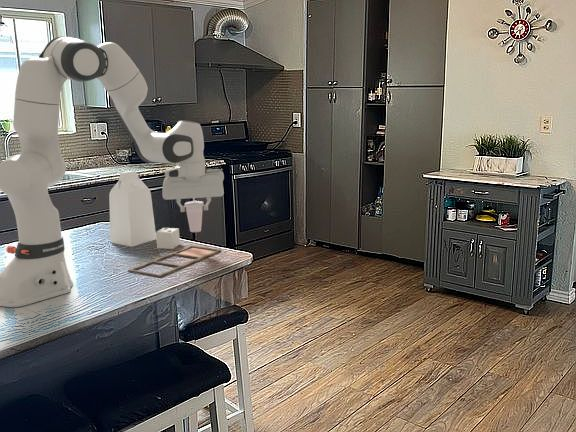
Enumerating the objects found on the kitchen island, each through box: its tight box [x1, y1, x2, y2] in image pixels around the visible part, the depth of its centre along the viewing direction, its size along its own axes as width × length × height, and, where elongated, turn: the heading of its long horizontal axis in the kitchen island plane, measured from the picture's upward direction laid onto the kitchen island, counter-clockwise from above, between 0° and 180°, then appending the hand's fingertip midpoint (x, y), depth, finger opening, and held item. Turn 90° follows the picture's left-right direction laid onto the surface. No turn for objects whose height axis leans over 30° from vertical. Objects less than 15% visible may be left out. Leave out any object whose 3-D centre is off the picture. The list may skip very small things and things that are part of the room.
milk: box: [108, 170, 157, 248], centre depth 212 cm, size 12×12×26 cm
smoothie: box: [184, 198, 205, 233], centre depth 193 cm, size 6×6×14 cm
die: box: [155, 227, 181, 250], centre depth 206 cm, size 6×6×6 cm
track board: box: [127, 245, 222, 279], centre depth 188 cm, size 31×13×1 cm, turn 150°
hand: (194, 211), depth 193 cm, fingers closed on smoothie, 6 cm apart
